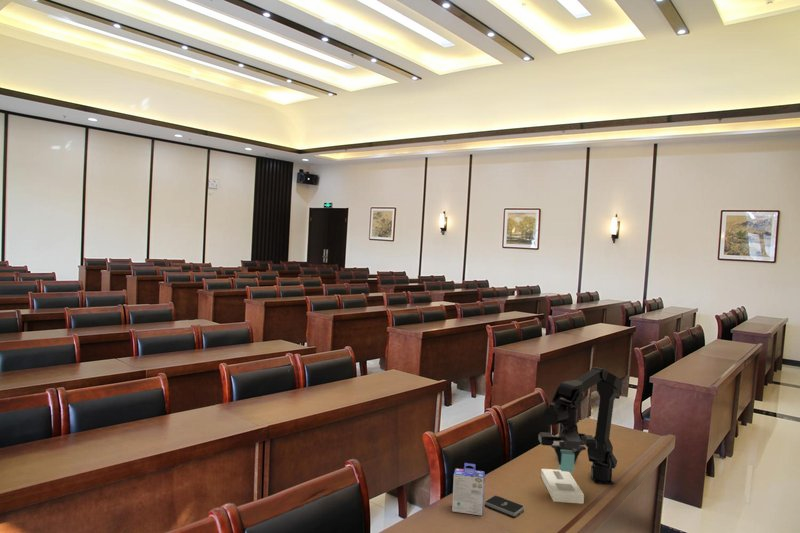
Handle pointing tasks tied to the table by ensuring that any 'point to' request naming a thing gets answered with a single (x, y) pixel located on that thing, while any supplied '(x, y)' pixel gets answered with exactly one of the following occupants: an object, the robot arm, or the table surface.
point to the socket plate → (562, 486)
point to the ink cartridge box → (468, 490)
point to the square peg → (567, 460)
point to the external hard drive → (504, 506)
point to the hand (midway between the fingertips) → (566, 464)
